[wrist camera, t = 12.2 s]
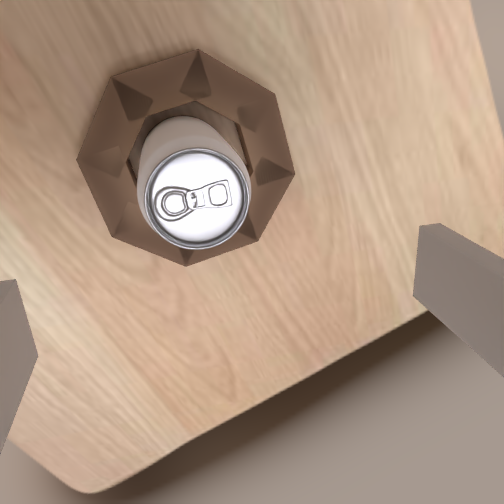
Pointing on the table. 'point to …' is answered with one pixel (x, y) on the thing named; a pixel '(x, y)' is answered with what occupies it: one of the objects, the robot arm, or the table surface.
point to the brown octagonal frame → (166, 97)
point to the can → (192, 184)
